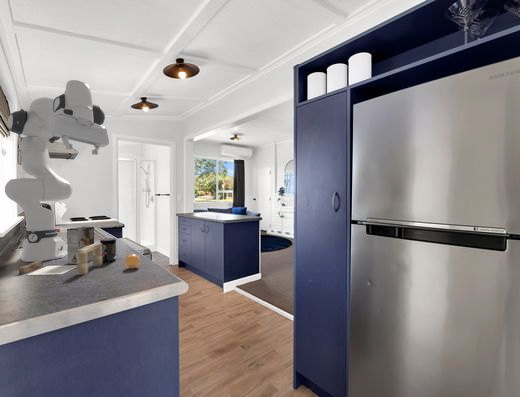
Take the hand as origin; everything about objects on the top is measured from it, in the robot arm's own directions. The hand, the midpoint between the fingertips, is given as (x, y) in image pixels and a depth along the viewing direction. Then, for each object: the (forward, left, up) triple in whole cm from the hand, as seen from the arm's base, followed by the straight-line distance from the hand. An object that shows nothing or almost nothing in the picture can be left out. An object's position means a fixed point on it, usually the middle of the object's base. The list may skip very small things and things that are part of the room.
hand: (82, 152), depth 106 cm
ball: (-9, +15, -45) cm, 49 cm away
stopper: (-10, -25, -48) cm, 55 cm away
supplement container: (-23, 0, -49) cm, 54 cm away
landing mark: (-9, -16, -48) cm, 51 cm away
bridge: (-9, -2, -48) cm, 49 cm away
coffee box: (-23, -12, -49) cm, 55 cm away
